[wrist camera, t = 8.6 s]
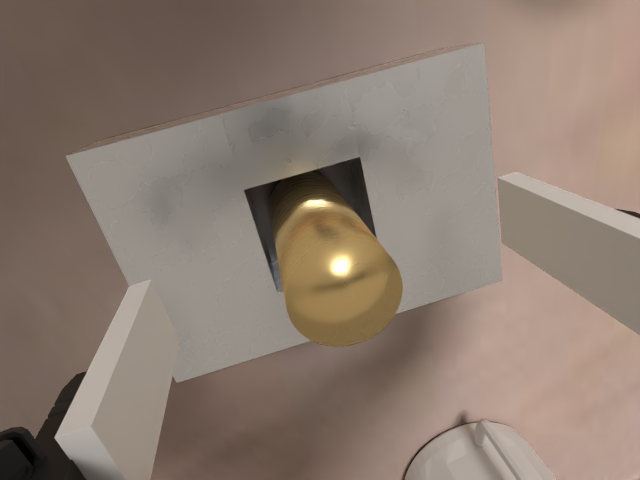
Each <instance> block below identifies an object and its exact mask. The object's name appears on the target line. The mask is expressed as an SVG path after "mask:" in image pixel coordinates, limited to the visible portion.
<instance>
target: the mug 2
mask: <svg viewBox="0 0 640 480" xmlns="http://www.w3.org/2000/svg"><path fill="white" fill-rule="evenodd" d="M405 480H557V479H556V478H555V476H554V475H553V474H552V472H551V471H550V470H549V469H548V467H547V466H546V465H545V464H544V462H543V461H542V460H541V458H540V457H539V456H538V455H537V453H536V452H535V451H534V449H533V448H532V447H531V446H530V445H529V443H528V442H527V441H526V440H525V439H524V438H523V437H522V436H521V435H520V433H519V432H517V431H516V430H515V429H513V428H511V427H509V426H507V425H503V424H500V423H493V422H489V421H488V420H485V419H481V420H480V421H479V422H476V423H469V424H465V425H461V426H458V427H455V428H453V429H451V430H448V431H446V432H444V433H443V434H441V435H439V436H438V437H436V438H435V439H433V440H432V441H431V442H429V443H428V444H427V445H426V446H425V447H424V448H423V449H422V450H421V451H420V452H419V453H418V454H417V456H416V457H415V458H414V460H413V461H412V463H411V465H410V467H409V469H408V471H407V473H406V476H405Z"/></svg>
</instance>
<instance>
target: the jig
mask: <svg viewBox="0 0 640 480" xmlns="http://www.w3.org/2000/svg"><path fill="white" fill-rule="evenodd" d="M66 158H67V160H68V162H69V165H70V167H71V169H72V171H73V173H74V175H75V177H76V179H77V181H78V183H79V185H80V187H81V189H82V191H83V193H84V195H85V197H86V199H87V201H88V203H89V205H90V207H91V210H92V212H93V214H94V216H95V218H96V220H97V222H98V224H99V226H100V228H101V230H102V232H103V234H104V236H105V238H106V240H107V242H108V244H109V246H110V248H111V250H112V252H113V254H114V257H115V259H116V261H117V263H118V265H119V267H120V269H121V271H122V273H123V275H124V277H125V279H126V281H127V283H128V285H129V286H130V285H134V284H137V283H141V282H144V281H147V280H152V283H153V285H154V287H155V289H156V291H157V293H158V295H159V298H160V300H161V302H162V304H163V306H164V308H165V310H166V312H167V315H168V317H169V319H170V321H171V323H172V325H173V327H174V330H175V332H176V334H177V336H178V338H179V340H180V343H179V348H178V352H177V357H176V362H175V366H174V371H173V377H174V379H175V381H176V383H178V382H182V381H185V380H188V379H191V378H194V377H197V376H201V375H204V374H207V373H210V372H213V371H217V370H220V369H223V368H226V367H229V366H232V365H236V364H239V363H242V362H245V361H248V360H251V359H255V358H258V357H261V356H264V355H267V354H271V353H274V352H277V351H280V350H283V349H286V348H290V347H293V346H296V345H299V344H302V343H305V342H309V341H311V340H309V339H308V338H306V337H305V336H303V335H302V334H301V333H300V332H299V331H298V330H297V329H296V328H295V327H294V325H293V324H292V322H291V320H290V318H289V316H288V313H287V308H286V303H285V298H284V292H283V287H282V281H281V276H280V271H279V265H278V260H277V254H276V249H275V243H274V238H273V232H272V227H271V221H270V216H269V199H270V196H271V193H272V191H273V190H274V188H275V187H276V185H277V184H278V183H279V182H280V181H281V180H282V179H284V178H287V177H291V176H294V175H298V174H301V173H305V172H308V171H311V172H316V173H319V174H321V175H323V176H325V177H326V178H328V179H329V180H330V181H331V182H332V183H333V184H334V186H335V187H336V188H337V189H338V191H339V192H340V193H341V194H342V196H343V197H344V198H345V199H346V201H347V202H348V203H349V205H350V206H351V207H352V208H353V210H354V211H355V212H356V213H357V215H358V216H359V217H360V218H361V220H362V221H363V222H364V224H365V225H366V226H367V227H368V229H369V230H370V231H371V232H372V234H373V235H374V236H375V237H376V239H377V240H378V241H379V243H380V244H381V245H382V246H383V248H384V249H385V250H386V251H387V253H388V254H389V255H390V257H391V258H392V259H393V260H394V262H395V263H396V265H397V267H398V269H399V271H400V274H401V277H402V284H403V292H402V298H401V302H400V305H399V307H398V310H397V312H396V314H398V313H401V312H404V311H407V310H410V309H413V308H417V307H420V306H423V305H426V304H429V303H432V302H436V301H439V300H442V299H445V298H448V297H452V296H455V295H458V294H461V293H464V292H467V291H471V290H474V289H477V288H480V287H483V286H486V285H490V284H493V283H496V282H499V281H502V270H501V257H500V244H499V231H498V218H497V205H496V191H495V178H494V165H493V152H492V139H491V126H490V113H489V100H488V87H487V73H486V60H485V47H484V43H479V44H471V45H463V46H455V47H447V48H441V49H438V50H434V51H430V52H426V53H423V54H419V55H415V56H412V57H408V58H404V59H400V60H397V61H393V62H389V63H386V64H382V65H378V66H374V67H371V68H367V69H363V70H360V71H356V72H352V73H349V74H345V75H341V76H337V77H334V78H330V79H326V80H323V81H319V82H315V83H311V84H308V85H304V86H300V87H297V88H293V89H289V90H285V91H282V92H278V93H274V94H271V95H267V96H263V97H260V98H256V99H252V100H248V101H245V102H241V103H237V104H234V105H230V106H226V107H222V108H219V109H215V110H211V111H208V112H204V113H200V114H196V115H193V116H189V117H185V118H182V119H178V120H174V121H171V122H167V123H163V124H159V125H156V126H152V127H148V128H145V129H141V130H137V131H133V132H130V133H126V134H122V135H119V136H115V137H111V138H107V139H104V140H100V141H96V142H94V143H92V144H90V145H88V146H86V147H84V148H82V149H79V150H77V151H75V152H73V153H71V154H69V155H67V156H66Z"/></svg>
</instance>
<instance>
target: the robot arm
mask: <svg viewBox="0 0 640 480" xmlns="http://www.w3.org/2000/svg"><path fill="white" fill-rule="evenodd" d="M498 191H499V207H500V222H501V238H502V243H503V244H505V245H506V246H508V247H509V248H511V249H512V250H514V251H515V252H517V253H518V254H520V255H521V256H523V257H524V258H526V259H527V260H529V261H530V262H532V263H533V264H535V265H536V266H537V267H539V268H540V269H542V270H543V271H545V272H546V273H548V274H549V275H551V276H552V277H554V278H555V279H557V280H558V281H560V282H561V283H563V284H564V285H566V286H567V287H569V288H570V289H572V290H573V291H575V292H576V293H578V294H579V295H581V296H582V297H584V298H585V299H587V300H588V301H590V302H591V303H593V304H594V305H596V306H597V307H599V308H600V309H602V310H603V311H605V312H606V313H608V314H609V315H611V316H612V317H614V318H615V319H616V320H618V321H619V322H621V323H622V324H624V325H625V326H627V327H628V328H630V329H631V330H633V331H634V332H636V333H637V334H639V335H640V214H638V213H636V212H631V211H625V210H619V209H613V208H610V207H608V206H605V205H602V204H600V203H597V202H595V201H592V200H589V199H587V198H584V197H581V196H579V195H576V194H574V193H571V192H568V191H566V190H563V189H560V188H558V187H555V186H553V185H550V184H547V183H545V182H542V181H539V180H537V179H534V178H532V177H529V176H526V175H524V174H521V173H518V172H514V173H511V174H508V175H504V176H501V177H498ZM179 343H180V340H179V338H178V336H177V334H176V332H175V330H174V327H173V325H172V323H171V321H170V319H169V317H168V315H167V312H166V310H165V308H164V306H163V304H162V302H161V300H160V298H159V295H158V293H157V291H156V289H155V287H154V285H153V283H152V280H147V281H144V282H141V283H137V284H134V285H130V286H129V288H128V290H127V292H126V294H125V296H124V298H123V300H122V302H121V304H120V306H119V308H118V310H117V312H116V314H115V316H114V318H113V320H112V322H111V324H110V326H109V328H108V330H107V332H106V334H105V336H104V338H103V340H102V342H101V344H100V346H99V348H98V350H97V352H96V355H95V357H94V359H93V361H92V363H91V365H90V367H89V369H88V371H86V372H83V373H80V374H76V376H75V377H74V378H73V379H72V380H71V381H70V382H69V383H68V384H67V385H66V386H65V387H64V388H63V389H62V391H61V393H60V395H59V397H58V398H57V400H56V402H55V406H54V407H53V408H52V409H51V411H50V413H49V415H48V419H46V420H45V422H44V424H43V426H42V428H41V430H40V431H39V433H38V435H37V437H36V439H34V437H33V436H32V435H31V433H30V432H29V431H28V430H27V429H25V428H23V427H16V428H10V429H8V430H5V431H2V432H0V480H150V479H151V475H152V470H153V465H154V461H155V456H156V451H157V446H158V442H159V437H160V432H161V428H162V423H163V418H164V414H165V409H166V404H167V399H168V395H169V390H170V385H171V381H172V376H173V371H174V366H175V362H176V357H177V352H178V348H179Z"/></svg>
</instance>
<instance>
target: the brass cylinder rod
mask: <svg viewBox="0 0 640 480" xmlns="http://www.w3.org/2000/svg"><path fill="white" fill-rule="evenodd" d="M269 216H270V221H271V227H272V232H273V238H274V243H275V249H276V254H277V260H278V265H279V271H280V276H281V281H282V287H283V292H284V298H285V303H286V308H287V313H288V316H289V318H290V320H291V322H292V324H293V325H294V327H295V328H296V329H297V330H298V331H299V332H300V333H301V334H302V335H303V336H305V337H306V338H308V339H309V340H311V341H313V342H315V343H318V344H321V345H326V346H334V347H339V346H349V345H354V344H357V343H360V342H363V341H365V340H367V339H369V338H371V337H373V336H374V335H376V334H377V333H379V332H380V331H381V330H382V329H383V328H384V327H385V326H386V325H388V323H389V322H390V321H391V320H392V318H393V317H394V315H395V314H396V312H397V310H398V307H399V305H400V302H401V298H402V292H403V284H402V277H401V274H400V271H399V269H398V267H397V265H396V263H395V262H394V260H393V259H392V258H391V257H390V255H389V254H388V253H387V251H386V250H385V249H384V248H383V246H382V245H381V244H380V243H379V241H378V240H377V239H376V237H375V236H374V235H373V234H372V232H371V231H370V230H369V229H368V227H367V226H366V225H365V224H364V222H363V221H362V220H361V218H360V217H359V216H358V215H357V213H356V212H355V211H354V210H353V208H352V207H351V206H350V205H349V203H348V202H347V201H346V199H345V198H344V197H343V196H342V194H341V193H340V192H339V191H338V189H337V188H336V187H335V186H334V184H333V183H332V182H331V181H330V180H329V179H328V178H326V177H325V176H323V175H321V174H319V173H316V172H311V171H308V172H305V173H301V174H298V175H294V176H291V177H287V178H284V179H282V180H281V181H280V182H279V183H278V184H277V185H276V187H275V188H274V190H273V191H272V193H271V196H270V199H269Z"/></svg>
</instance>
